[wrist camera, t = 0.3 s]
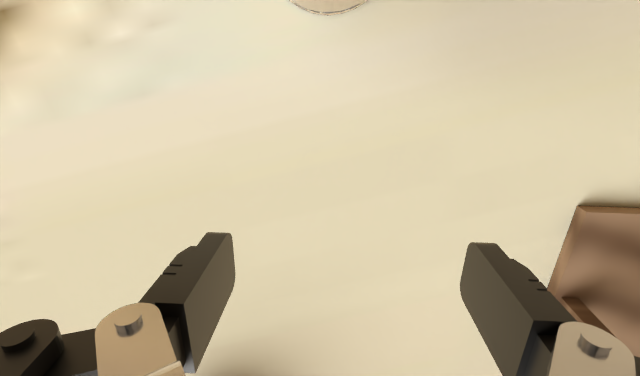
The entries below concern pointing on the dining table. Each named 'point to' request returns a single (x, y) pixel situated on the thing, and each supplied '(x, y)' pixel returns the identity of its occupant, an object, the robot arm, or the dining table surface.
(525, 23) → the dining table surface
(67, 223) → the dining table surface
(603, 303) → the stand
